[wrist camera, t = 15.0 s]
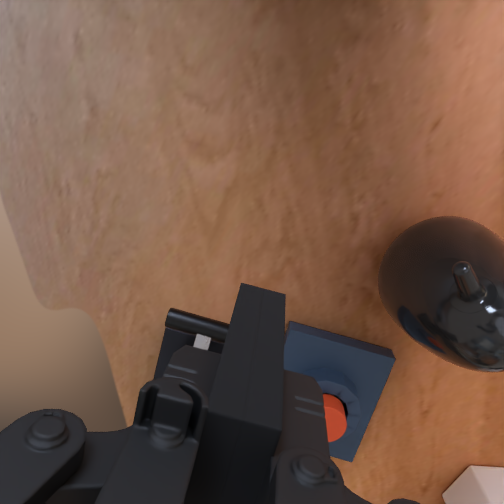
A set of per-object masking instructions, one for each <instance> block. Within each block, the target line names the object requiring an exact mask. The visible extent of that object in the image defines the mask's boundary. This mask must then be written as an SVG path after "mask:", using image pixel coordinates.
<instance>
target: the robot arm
mask: <svg viewBox="0 0 504 504" xmlns="http://www.w3.org/2000/svg"><path fill="white" fill-rule="evenodd" d="M285 295H286V294H282V293H278V292H275V291H271V290H267V289H263V288H259V287H256V286H252V285H248V284H244V283H241V286H240V289H239V293H238V296H237V300H236V303H235V307H234V311H233V314H232V318H231V321H230V325H229V329H228V332H227V336H226V339H225V343H224V346H223V350H222V354H219V353H215V352H211V351H208V350H204V349H200V348H196V347H193V346H189V345H185V346H183V347H182V348H180V349H179V350H177V351H176V352H174V353H173V355H172V357H171V359H170V361H169V363H168V366H167V368H166V370H165V372H164V374H163V377H162V378H156V379H154V380H152V381H149V382H147V383H146V384H145V385H144V386H143V387H142V388H141V389H140V392H139V397H138V402H137V407H136V412H135V417H134V422H133V425H132V426H130V427H128V428H126V429H122V430H118V431H111V432H87V428H86V426H85V425H84V423H83V421H82V419H80V418H79V417H77V416H76V415H75V414H73V413H71V412H68V411H64V410H61V409H43V410H39V411H34V412H30V413H28V414H27V415H25V416H23V417H21V418H19V419H17V420H16V421H14V422H13V423H12V424H10V425H9V426H8V427H6V428H5V429H4V430H2V431H1V432H0V504H372V503H370V502H368V501H366V500H364V499H362V498H361V497H359V496H358V495H356V494H355V493H353V492H352V491H351V490H349V489H348V488H347V487H346V486H345V485H344V481H343V478H342V475H341V472H340V470H339V468H338V467H337V466H336V465H335V463H334V462H333V461H332V460H331V459H330V452H329V443H328V435H327V426H326V418H325V408H324V400H323V391H322V389H321V388H320V386H319V385H318V383H317V381H316V380H315V378H314V377H311V376H308V375H304V374H300V373H296V372H292V371H289V370H285V369H284V335H285ZM388 504H420V503H418V502H416V501H412V500H408V499H404V498H402V499H395V500H391V501H390V502H389V503H388Z"/></svg>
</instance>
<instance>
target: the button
mask: <svg viewBox="0 0 504 504" xmlns="http://www.w3.org/2000/svg"><path fill="white" fill-rule="evenodd" d="M323 400H324V408H325V418H326V426H327V435H328V442H332V441H335V440H337V439H339V438H340V437H342V435H343V434H344V433H345V431H346V428H347V421H346V416H345V411H344V407H343V404H342V402H341V401H340V400H339V399H338V398H337V397H335V396H333V395H330V394H323Z"/></svg>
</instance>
